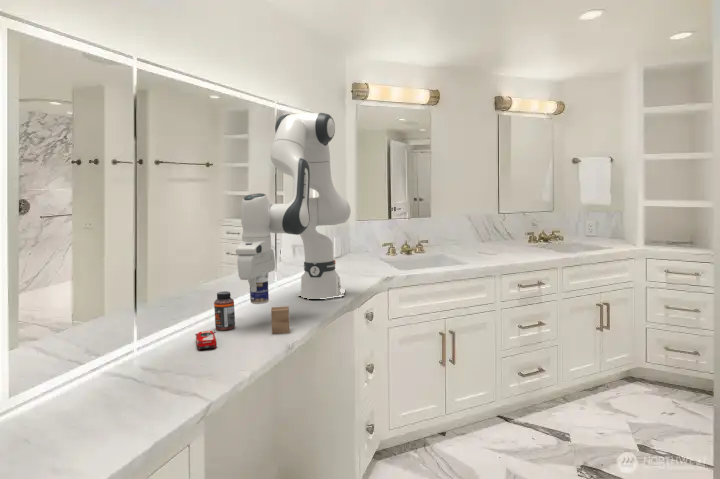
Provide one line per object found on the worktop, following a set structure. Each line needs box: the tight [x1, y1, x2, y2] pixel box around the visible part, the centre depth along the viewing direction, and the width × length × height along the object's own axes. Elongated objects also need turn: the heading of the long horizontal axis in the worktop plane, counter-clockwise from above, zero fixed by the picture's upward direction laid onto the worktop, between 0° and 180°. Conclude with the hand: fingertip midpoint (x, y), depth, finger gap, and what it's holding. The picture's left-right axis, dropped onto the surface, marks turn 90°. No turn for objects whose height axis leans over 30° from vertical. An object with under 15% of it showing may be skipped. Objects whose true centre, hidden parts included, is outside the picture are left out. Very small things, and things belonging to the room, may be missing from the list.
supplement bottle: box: [213, 291, 236, 332], centre depth 165 cm, size 6×6×11 cm
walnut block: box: [270, 305, 290, 335], centre depth 160 cm, size 5×5×7 cm
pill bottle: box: [249, 271, 270, 305], centre depth 169 cm, size 6×6×10 cm
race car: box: [194, 330, 218, 350], centre depth 148 cm, size 13×5×4 cm, turn 18°
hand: (259, 289), depth 169 cm, fingers closed on pill bottle, 6 cm apart
